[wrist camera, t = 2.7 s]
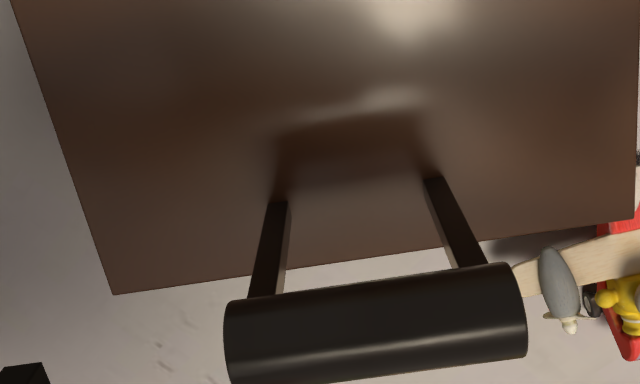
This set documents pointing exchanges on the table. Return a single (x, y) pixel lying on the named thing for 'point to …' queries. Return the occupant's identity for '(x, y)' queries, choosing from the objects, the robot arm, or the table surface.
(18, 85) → the table surface
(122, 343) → the table surface
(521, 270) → the toy airplane
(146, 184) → the lid
